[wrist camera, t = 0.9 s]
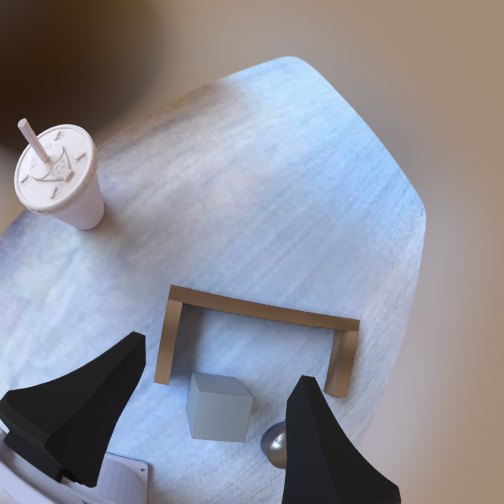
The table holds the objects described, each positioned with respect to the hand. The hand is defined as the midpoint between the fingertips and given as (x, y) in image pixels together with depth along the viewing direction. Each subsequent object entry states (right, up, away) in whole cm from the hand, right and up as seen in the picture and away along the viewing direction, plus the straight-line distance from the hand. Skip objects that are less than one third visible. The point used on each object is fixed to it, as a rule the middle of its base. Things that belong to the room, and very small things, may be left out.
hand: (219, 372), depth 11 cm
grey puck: (+5, -14, +12) cm, 20 cm away
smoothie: (-14, +9, +11) cm, 20 cm away
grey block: (-2, -8, +11) cm, 14 cm away
